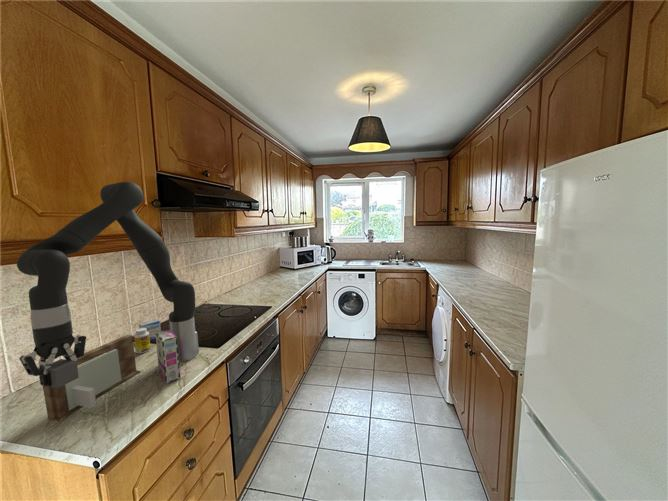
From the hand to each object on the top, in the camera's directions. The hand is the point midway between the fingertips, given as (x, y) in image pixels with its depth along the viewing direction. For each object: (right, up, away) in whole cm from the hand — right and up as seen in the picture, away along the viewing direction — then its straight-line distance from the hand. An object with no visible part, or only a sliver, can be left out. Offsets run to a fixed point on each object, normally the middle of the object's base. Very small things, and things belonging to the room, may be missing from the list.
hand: (60, 379), depth 76 cm
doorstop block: (0, -1, 0) cm, 1 cm away
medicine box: (-14, -8, +59) cm, 61 cm away
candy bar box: (+14, -12, +27) cm, 33 cm away
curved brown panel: (-4, -13, +17) cm, 22 cm away
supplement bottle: (-9, -10, +47) cm, 48 cm away
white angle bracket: (0, -12, +14) cm, 19 cm away
